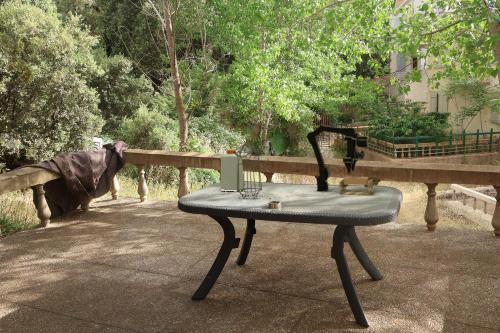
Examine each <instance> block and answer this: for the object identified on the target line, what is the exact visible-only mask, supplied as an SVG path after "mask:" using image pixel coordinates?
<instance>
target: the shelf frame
mask: <svg viewBox="0 0 500 333" xmlns="http://www.w3.org/2000/svg"><path fill="white" fill-rule="evenodd" d="M373 179H374V178H373ZM373 179H372V178H371V179H370V180H369V179H368V182H367V185H363V187H364V188H367V189H346V187H348V186H349V185H344V178H342V179H341V180H339V182H338V183H339V184H338V191H339V194H338V195H341V196H342V195H343V196H344V195H345V196H346V195H347V196H370V195H371V196H372V194H373V193H374V180H373Z"/></svg>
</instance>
